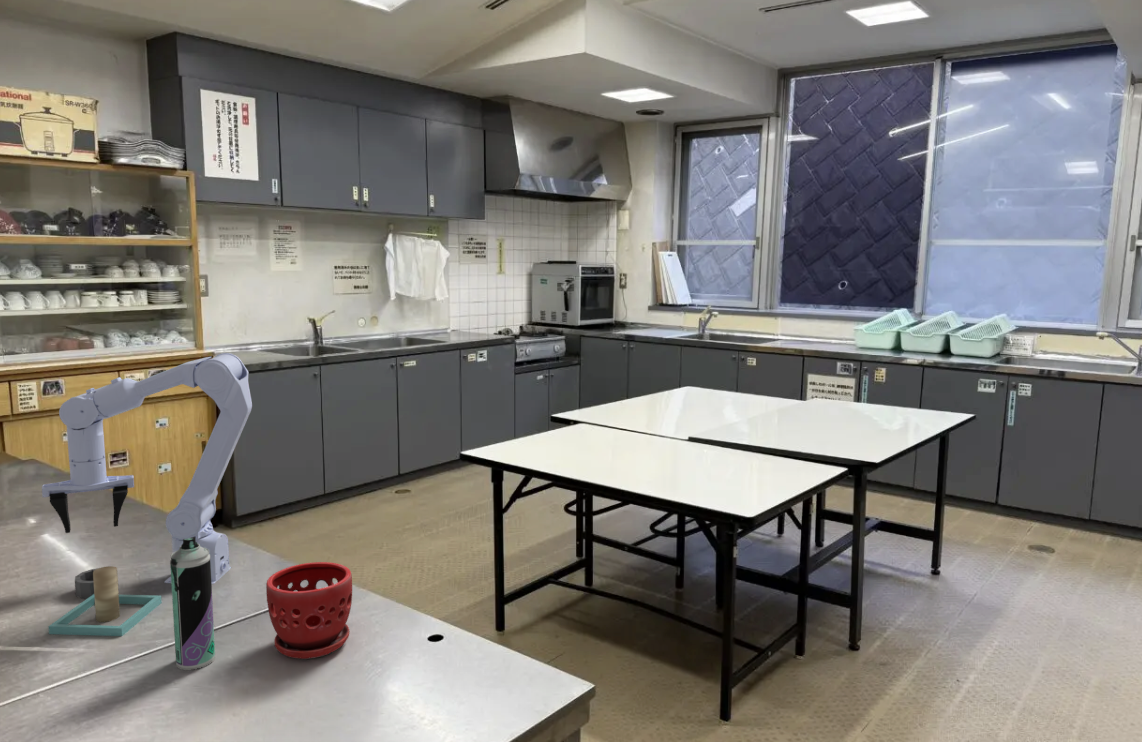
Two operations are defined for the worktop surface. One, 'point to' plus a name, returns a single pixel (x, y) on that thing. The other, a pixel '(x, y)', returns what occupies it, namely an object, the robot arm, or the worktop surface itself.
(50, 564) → the worktop surface
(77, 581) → the dark gray cup
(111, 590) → the birch dowel
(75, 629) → the teal tray
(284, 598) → the plant pot
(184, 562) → the spray can
